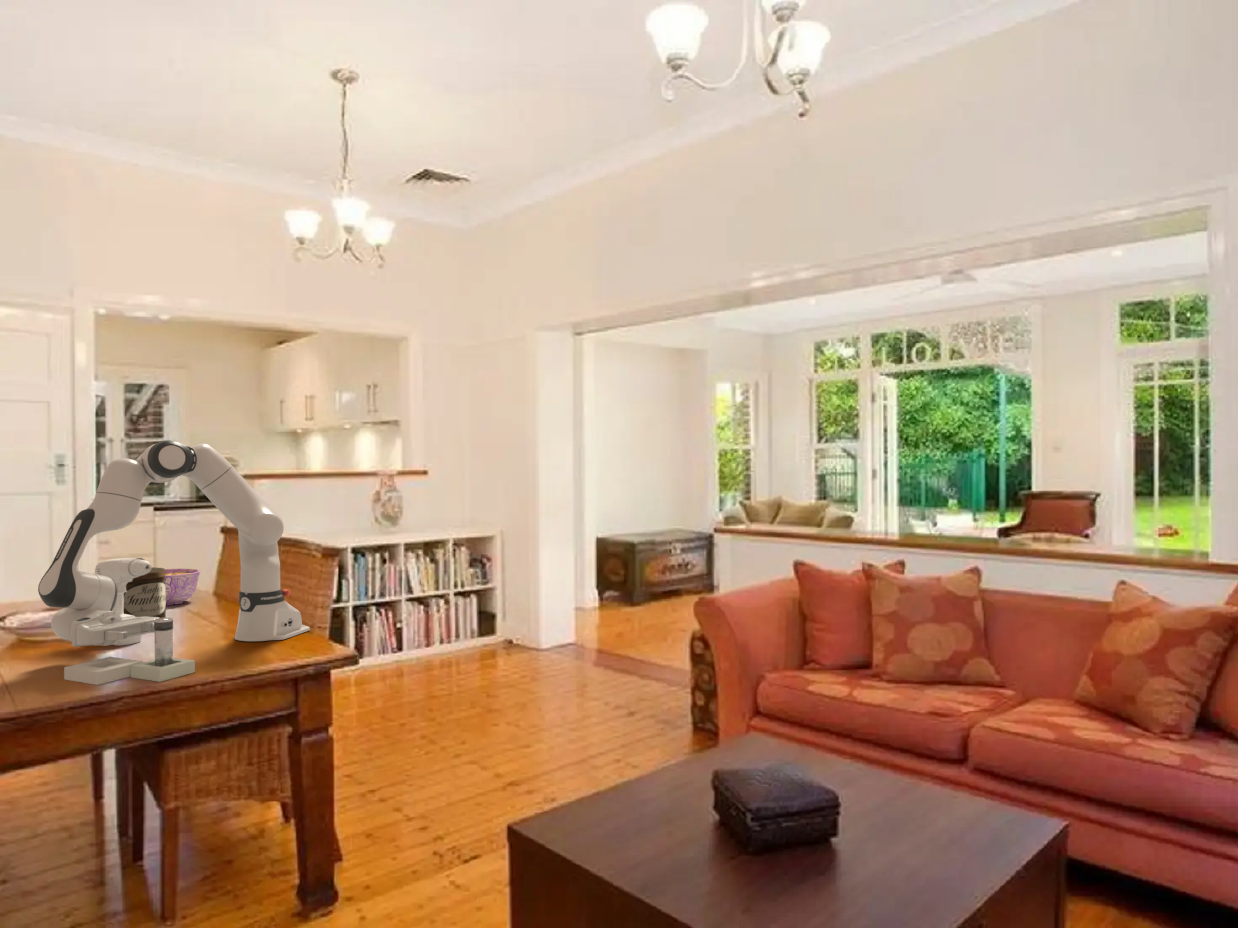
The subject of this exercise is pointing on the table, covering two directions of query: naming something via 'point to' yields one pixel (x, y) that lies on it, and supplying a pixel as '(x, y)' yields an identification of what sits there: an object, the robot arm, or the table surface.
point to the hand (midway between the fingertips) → (141, 632)
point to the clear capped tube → (163, 641)
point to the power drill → (123, 584)
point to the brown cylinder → (146, 595)
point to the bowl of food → (180, 584)
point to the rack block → (162, 670)
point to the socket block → (100, 670)
